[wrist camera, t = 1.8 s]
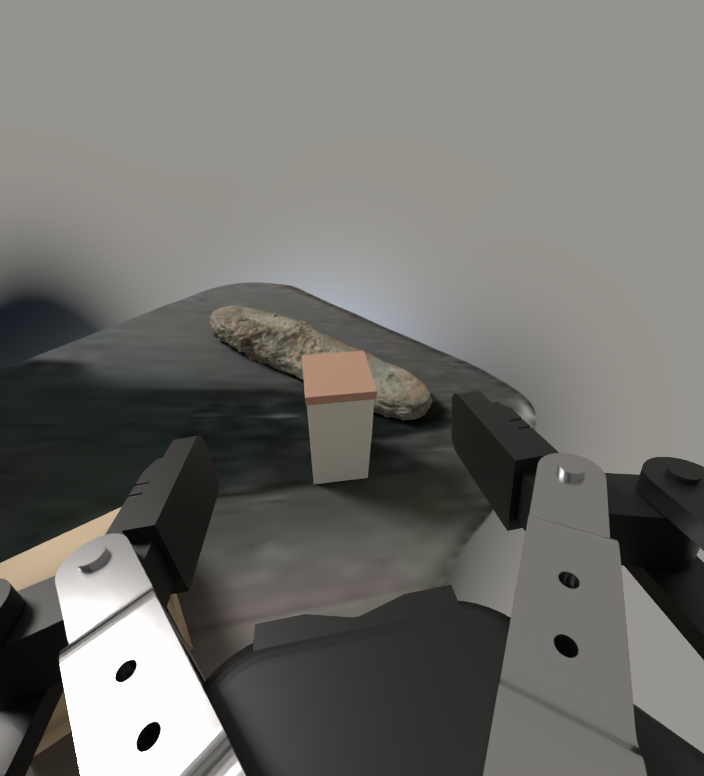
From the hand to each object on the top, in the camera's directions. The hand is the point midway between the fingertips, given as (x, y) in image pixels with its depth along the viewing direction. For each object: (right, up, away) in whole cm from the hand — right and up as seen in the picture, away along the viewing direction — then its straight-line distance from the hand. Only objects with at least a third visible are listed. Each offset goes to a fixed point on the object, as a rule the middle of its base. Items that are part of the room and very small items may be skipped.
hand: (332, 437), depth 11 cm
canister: (-1, -6, +24) cm, 25 cm away
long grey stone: (-5, +5, +37) cm, 38 cm away
